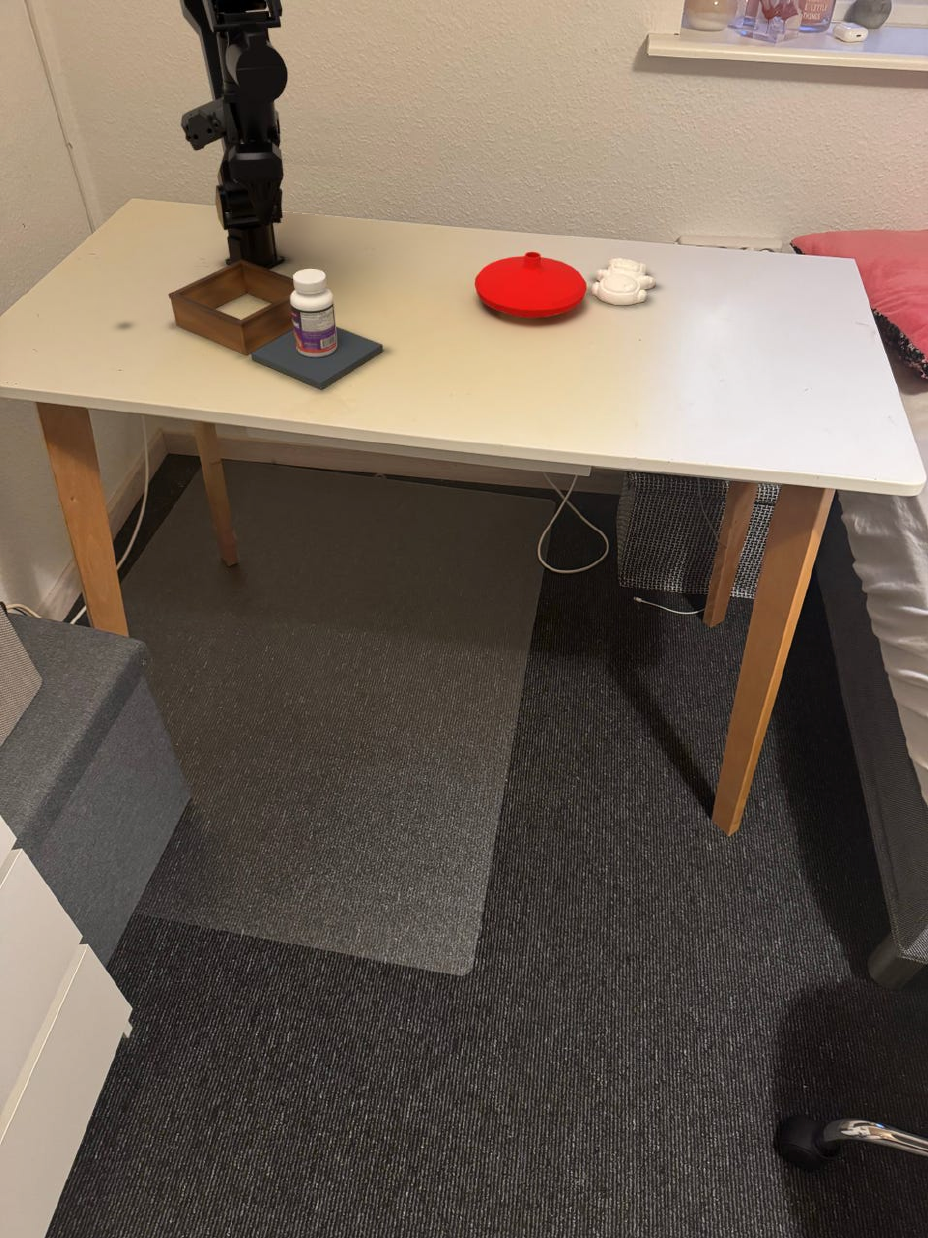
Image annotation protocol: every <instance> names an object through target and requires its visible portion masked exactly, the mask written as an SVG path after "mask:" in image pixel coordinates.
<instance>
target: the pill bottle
mask: <svg viewBox="0 0 928 1238" xmlns="http://www.w3.org/2000/svg"><path fill="white" fill-rule="evenodd" d="M292 278H293V282H294V288H295V290H294V291H293V292H292V294H291V296H290V304H291V313H292V321H293V329H294V337H295V344H296V349H297V351H298V352H299V353H300V354H302V355H304V356H307V357H324V356H327V355H330V354H332V353H333V352H334V351H335V350H336V348H337V333H336V327H337V326H336V325H337V323H336V311H335V299H334V295H333V292H332V291H331V290H330V289H329V288H328V287H327V286H328V285H327V284H328V282H327V275H326V273H325V272H324V271H322V270H321V269H318V268H305V269H300V270H298V271H296V272H295V273H294V274H293V275H292ZM293 329H292V330H293Z"/></svg>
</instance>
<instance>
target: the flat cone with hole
mask: <svg viewBox="0 0 928 1238" xmlns="http://www.w3.org/2000/svg"><path fill="white" fill-rule="evenodd" d="M474 287H475V288H474V289H475V291H476V293H477V296H478V298H479V299H480V301H481V302H483V304H485V305H486V306H488V307H490V308H492V309H493V310H495V311H497V312H501V313H504V314H507V315H510V316H513V317H518V318H526V319H540V318H547V317H552V316H557V315H560V314H564V313H567V312H569V311H572V310H574V309H576V307H577V306H579V305H580V304H581V302H582V300H583V299H584V297H585V294H586V293H587V290H588V286H587V282H586V280H585V278H584V277H583V275H582V274H581V273H580V271H578V270H577V269H576V268H574V267H573V265H570V264H567V263H566V262H563V261H561V260H557V259H553V258H548V257H543V256H542V255H541V253H539V252H537V251H527V252H525V253H524V255H521V256H520V255H519V256H510V257H506V258H500V259H497V260H495V261H492V262H490V263H489V264H487V265H485V266H484V267H483V268H482V269H481V270H480V271H479V272H478V274H477V275H476V276H475V278H474Z"/></svg>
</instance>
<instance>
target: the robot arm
mask: <svg viewBox="0 0 928 1238" xmlns="http://www.w3.org/2000/svg"><path fill="white" fill-rule="evenodd" d="M178 1H179V5H180V9H181V15H182V16H183V18H184V20H185V21H186V22H187V23H188V24H189V25H190V27H191V28H192V29H193V31H194V32H195V33H196V34H197V35H198V38H199V42H200V47H201V51H202V57H203V61H204V66H205V70H206V75H207V80H208V85H209V89H210V94H211V99H212V100H211V101H208V102H207V103H204V104H202V105H199V106H197V107H195V108H193V109H191V110H189V111H187V112H185V113H183V114H182V116H181V119H180V126H181V129H182V130H183V132H184V134H185V137H184V138H185V140H186V141H187V142H188V143H189V144H190V145H191V148H192V149H193V150H194V151H195V152H198V151H200V150H203V149H205V147H206V146H208V145H210V144H213V143H214V142H217V141H219V140H220V142H221V147H222V152H223V155H222V158H221V162H220V164H219V168H218V170H217V175H216V176H217V183H218V184H216V185H215V201H214V202H215V208H216V209H215V210H216V214H217V217H218V221H219V223H220V225H221V227H222V229H223V231H227V235H228V236H227V237H226V241H227V247H228V254H229V257H227V258H226V259H225V260H224V262H225V264H226V265H228V266H229V265H231V264H233V263H235V262H237V261H239V260H244V261H247V262H250V263H252V264H255V265H258V266H261V267H263V268H266V269H270V268H273V267H274V266H277V265H278V264H281V263H282V262H284V261H286V258H285V256H284V255H281V254H279V253H278V251H277V244H276V235H275V227H274V224H281V223H282V219H283V218H284V216H283V215H284V214H283V189H282V188H281V185H282V182H283V180H284V175H285V174H284V164H283V155H282V150H281V149H280V146H281V124H280V123H281V122H280V115H279V111H278V110H276V104H275V103H276V102H275V101H277V99H279V98H280V97H281V96H282V95H283V93H284V91H285V90H286V87H287V84H288V79H289V78H288V77H289V72H288V67H287V65H286V62H285V60H284V58H283V57H282V55H281V54H280V53H279V51H278V50H277V49H276V48H275V47H274V45H273V44H272V43H271V40H270V39H271V38H270V35H269V34H270V33H269V29H280V28H282V22H281V17H283V5H282V3H281V2H282V1H281V0H178Z"/></svg>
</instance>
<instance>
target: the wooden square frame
mask: <svg viewBox="0 0 928 1238" xmlns="http://www.w3.org/2000/svg"><path fill="white" fill-rule="evenodd" d="M294 290H295V288H294V282H293V277H290V276H287V275H284V274H282V273H279V272H276V271H274V270H271V269H270V268H268V269H266V268H263V267H261V266H258V265H255V264H252V263H250V262H247V261H244V260H239V261H237V262H235V263H233V264H231V265H229V264H228V265H227V266H225V267H222V268H220V269H219V270H217V271H216V270H215V271H214V272H211V273H210V274H208V275H206V276H203V277H202V278H199V279H197V280H195V281H193V282H191V283H189V284H186V285H184V286H182V287H180V288H178V289H176V290H174V291H172V292H170V293H168V298H169V299H170V302H171V307H172V312H173V317H174V321H175V325H176V327H179V328H181V329H184V330H186V331H188V332H191V333H193V334H195V335H197V336H200V337H202V338H204V339H207V340H209V341H212V342H214V343H216V344H219V345H221V346H223V347H226V348H228V349H231V350H233V351H235V352H237V353H240V354H241V355H244V356H248V355H249V354H251V353H252V352H254V351H256V350H258V349H259V348H261V347H263V346H265V345H267V344H268V343H270V342H272V341H274V340H275V339H277V338H279V337H281V336H283V335H284V334H286V333H288V332H290V331H292V330H293V321H292V313H291V304H290V296H291V294H292V292H293V291H294ZM244 294H248V295H251V296H254V297H256V298H258V299H261V300H264V301H266V302H269V303H270V304H269V305H266V306H265V307H262V308H260V309H259V310H257V311H255V312H253V313H251V314H249V315H247V316H245V317H244V318H241V319H240V318H238V317H235V316H233V315H231V314H228V313H225V312H223V311H221V310H219V309H217V308H219V307H221V306H223V305H225V304H227V303H229V302H231V301H233V300H235V299H237V298H239V297H242V296H243V295H244Z"/></svg>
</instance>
